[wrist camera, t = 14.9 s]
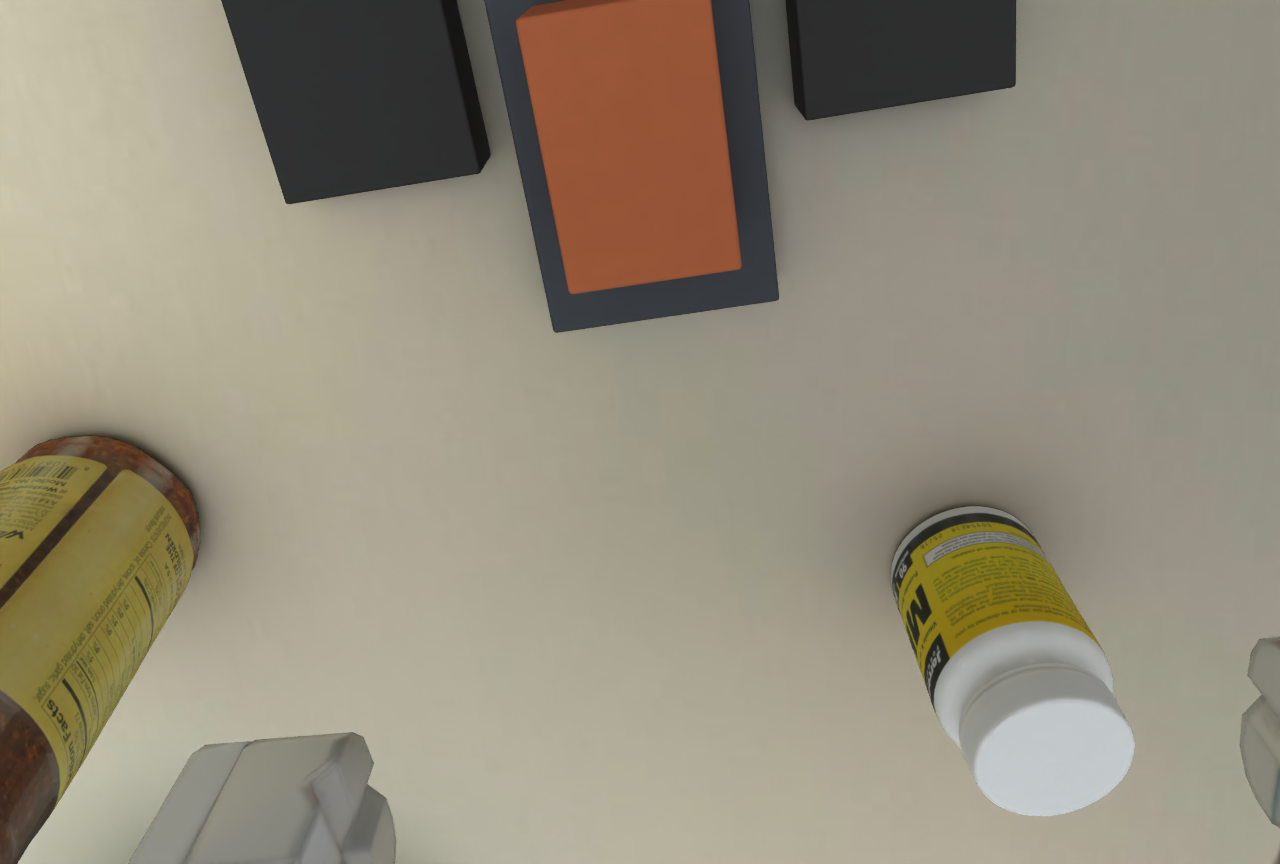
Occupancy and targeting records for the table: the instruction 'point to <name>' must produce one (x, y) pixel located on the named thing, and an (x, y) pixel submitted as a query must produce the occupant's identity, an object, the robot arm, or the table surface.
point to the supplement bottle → (1010, 663)
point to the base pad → (447, 98)
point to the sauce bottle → (78, 606)
